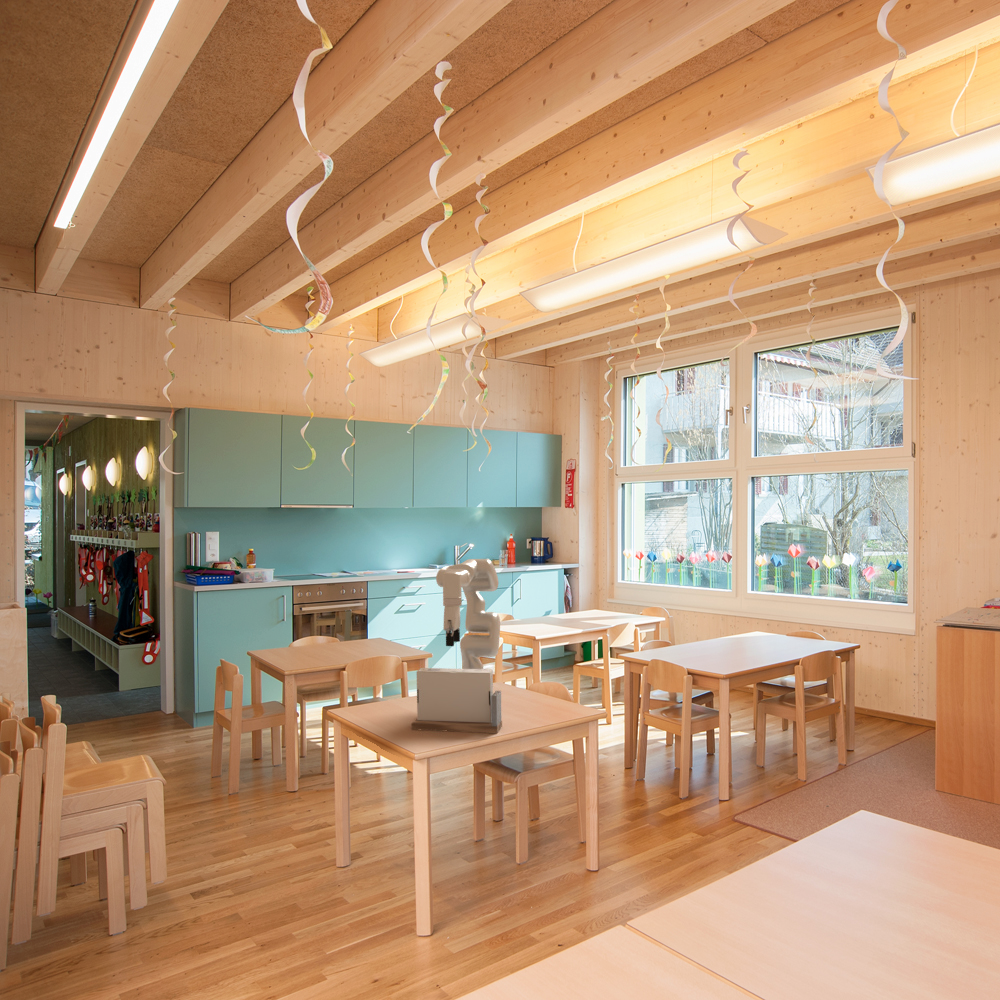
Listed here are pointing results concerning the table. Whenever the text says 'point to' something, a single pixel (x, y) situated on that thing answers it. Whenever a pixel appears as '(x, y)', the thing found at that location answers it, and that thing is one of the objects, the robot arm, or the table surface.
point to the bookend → (496, 708)
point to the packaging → (454, 694)
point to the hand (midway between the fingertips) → (453, 643)
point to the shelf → (456, 726)
